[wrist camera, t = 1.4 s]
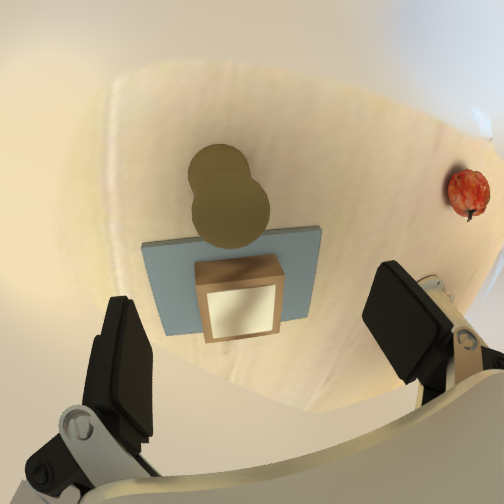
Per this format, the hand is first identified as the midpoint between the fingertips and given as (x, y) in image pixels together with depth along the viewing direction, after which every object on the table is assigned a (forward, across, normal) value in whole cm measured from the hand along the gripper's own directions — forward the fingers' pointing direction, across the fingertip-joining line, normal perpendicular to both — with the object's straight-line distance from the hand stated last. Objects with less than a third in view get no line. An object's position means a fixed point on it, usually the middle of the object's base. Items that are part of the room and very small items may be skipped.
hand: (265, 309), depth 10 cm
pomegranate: (+19, -35, +1) cm, 40 cm away
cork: (+19, 0, 0) cm, 19 cm away
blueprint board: (+19, -1, +14) cm, 24 cm away
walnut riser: (+18, -1, +14) cm, 23 cm away
